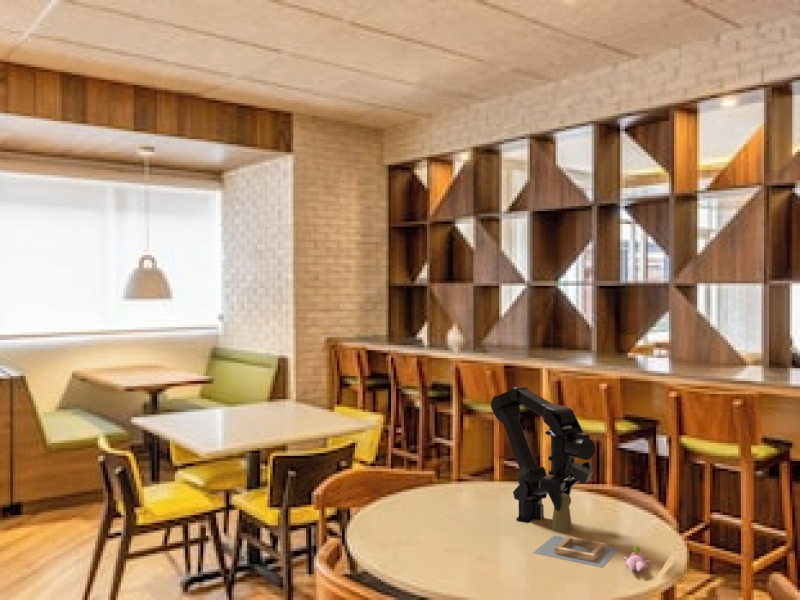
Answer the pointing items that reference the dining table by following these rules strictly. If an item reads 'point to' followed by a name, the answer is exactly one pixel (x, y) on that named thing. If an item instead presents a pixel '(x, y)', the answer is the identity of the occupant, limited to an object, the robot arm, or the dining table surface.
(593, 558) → the snap socket
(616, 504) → the dining table surface
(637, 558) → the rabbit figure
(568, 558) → the grey base plate
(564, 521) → the tan tapered cylinder
